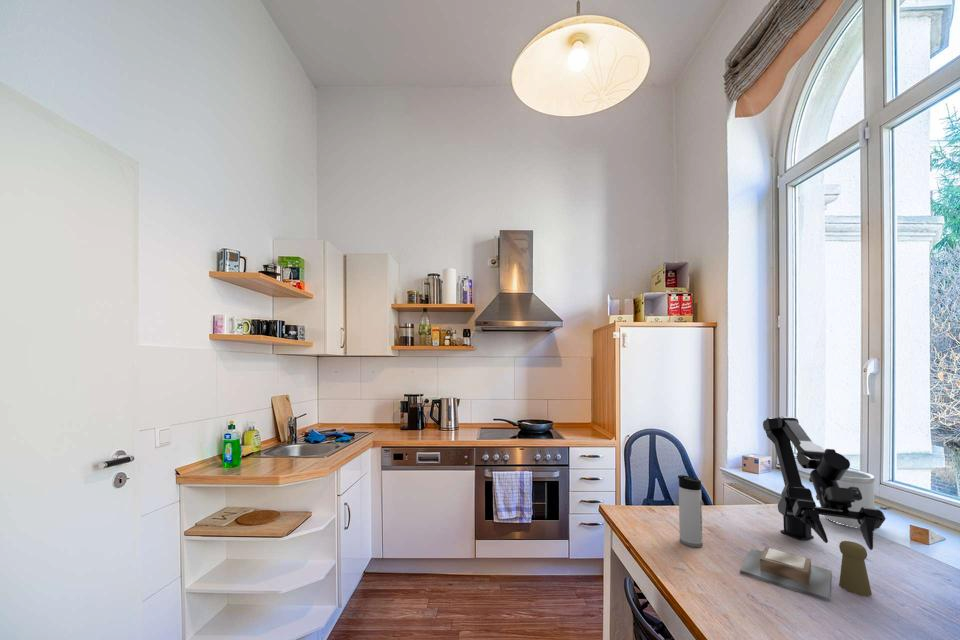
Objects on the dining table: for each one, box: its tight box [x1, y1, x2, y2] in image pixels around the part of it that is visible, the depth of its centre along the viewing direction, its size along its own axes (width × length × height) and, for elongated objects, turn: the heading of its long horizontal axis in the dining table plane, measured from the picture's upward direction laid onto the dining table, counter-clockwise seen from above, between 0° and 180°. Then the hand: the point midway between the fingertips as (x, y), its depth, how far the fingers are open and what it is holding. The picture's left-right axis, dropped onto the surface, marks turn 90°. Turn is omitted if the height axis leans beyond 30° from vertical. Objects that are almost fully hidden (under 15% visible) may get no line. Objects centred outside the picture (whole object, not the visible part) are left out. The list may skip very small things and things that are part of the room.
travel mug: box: [677, 474, 703, 548], centre depth 126 cm, size 6×7×20 cm
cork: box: [838, 540, 873, 597], centre depth 102 cm, size 6×6×11 cm
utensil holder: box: [824, 468, 876, 529], centre depth 148 cm, size 15×15×18 cm
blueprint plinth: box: [739, 546, 832, 603], centre depth 109 cm, size 18×18×4 cm
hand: (848, 545), depth 105 cm, fingers open, 9 cm apart
